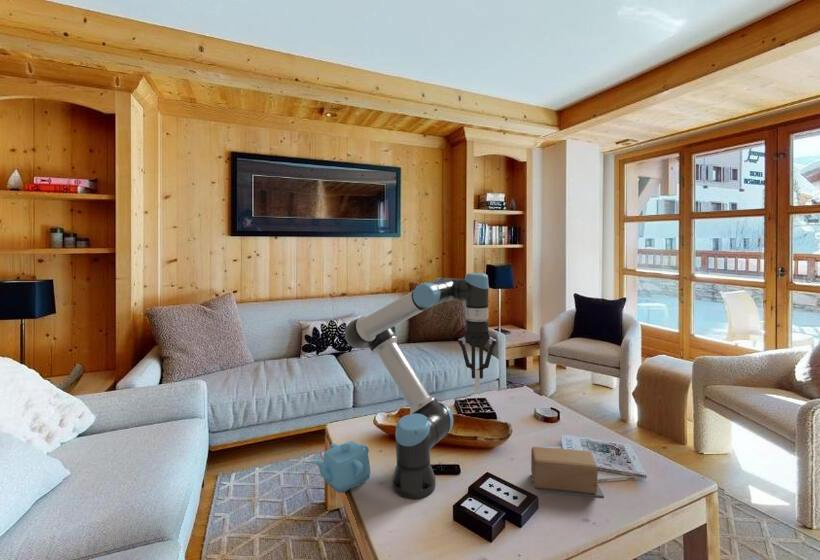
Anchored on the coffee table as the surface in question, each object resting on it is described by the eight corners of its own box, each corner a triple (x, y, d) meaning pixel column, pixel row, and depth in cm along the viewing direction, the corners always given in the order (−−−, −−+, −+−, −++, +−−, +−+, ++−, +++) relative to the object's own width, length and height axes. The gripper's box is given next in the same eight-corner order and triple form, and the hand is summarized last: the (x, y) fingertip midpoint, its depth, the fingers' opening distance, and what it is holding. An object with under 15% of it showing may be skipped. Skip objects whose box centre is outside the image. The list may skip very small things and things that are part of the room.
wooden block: (533, 488, 131) (597, 495, 127) (534, 460, 130) (598, 466, 126) (530, 471, 140) (590, 477, 136) (531, 445, 139) (590, 450, 135)
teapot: (333, 466, 147) (332, 432, 146) (375, 469, 144) (374, 435, 143) (313, 497, 129) (311, 459, 128) (360, 502, 126) (358, 463, 125)
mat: (540, 492, 129) (540, 491, 129) (532, 466, 144) (532, 465, 144) (603, 497, 126) (603, 495, 126) (589, 470, 141) (589, 468, 141)
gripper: (457, 321, 127) (457, 391, 129) (497, 321, 125) (497, 392, 127) (457, 316, 134) (458, 382, 137) (496, 317, 132) (495, 383, 135)
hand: (477, 387), depth 132 cm, fingers closed
